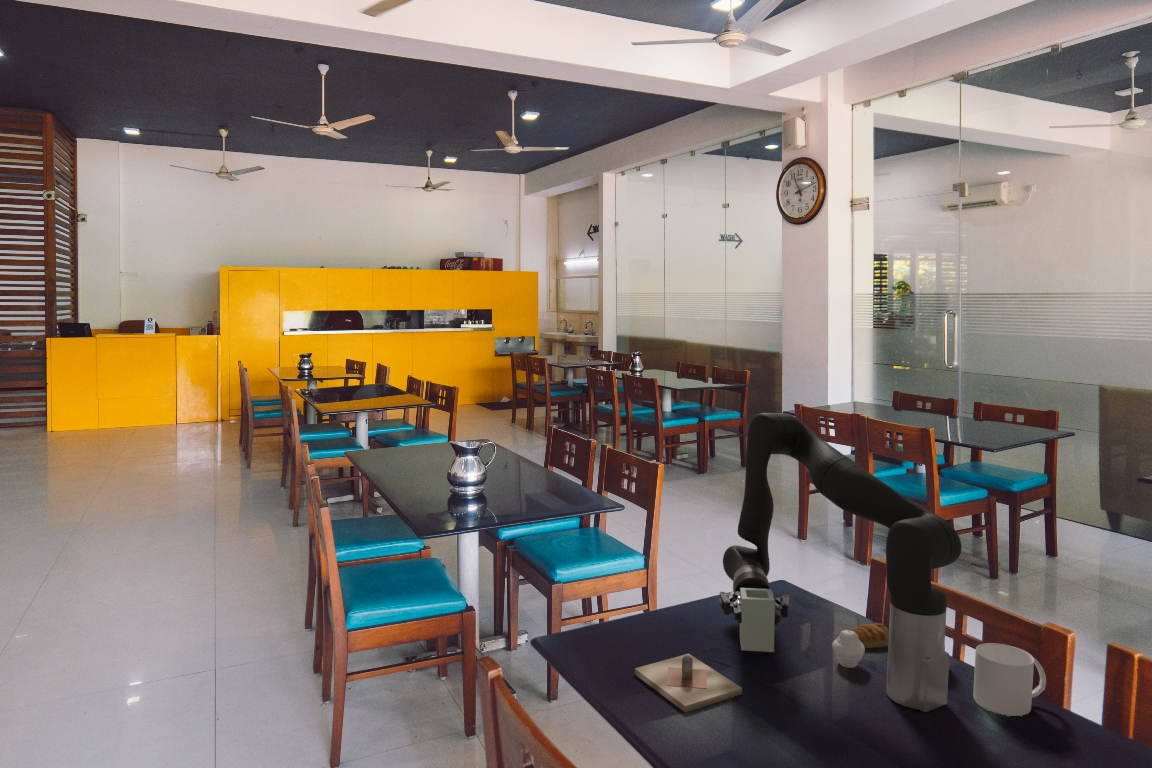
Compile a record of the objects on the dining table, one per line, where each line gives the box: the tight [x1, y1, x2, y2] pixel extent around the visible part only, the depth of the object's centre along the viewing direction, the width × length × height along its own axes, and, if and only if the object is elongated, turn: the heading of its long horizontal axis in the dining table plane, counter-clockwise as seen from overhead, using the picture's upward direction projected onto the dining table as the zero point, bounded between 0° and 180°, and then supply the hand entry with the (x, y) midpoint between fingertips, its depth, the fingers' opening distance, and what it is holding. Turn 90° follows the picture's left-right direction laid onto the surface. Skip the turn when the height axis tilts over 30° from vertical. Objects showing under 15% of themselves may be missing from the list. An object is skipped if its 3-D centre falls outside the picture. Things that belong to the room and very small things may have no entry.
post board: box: [634, 653, 743, 713], centre depth 143 cm, size 16×13×6 cm
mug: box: [972, 642, 1047, 717], centre depth 135 cm, size 12×9×9 cm
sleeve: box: [739, 588, 775, 653], centre depth 146 cm, size 6×6×10 cm
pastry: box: [849, 622, 889, 649], centre depth 161 cm, size 9×7×4 cm
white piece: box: [831, 629, 866, 669], centre depth 151 cm, size 6×6×7 cm
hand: (757, 618), depth 143 cm, fingers closed on sleeve, 6 cm apart
